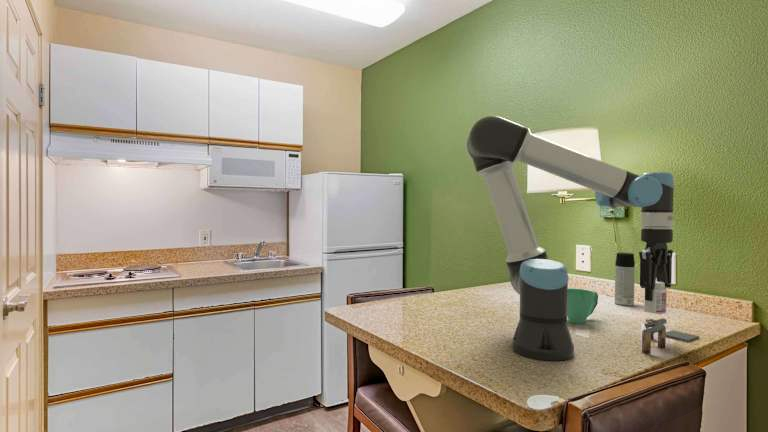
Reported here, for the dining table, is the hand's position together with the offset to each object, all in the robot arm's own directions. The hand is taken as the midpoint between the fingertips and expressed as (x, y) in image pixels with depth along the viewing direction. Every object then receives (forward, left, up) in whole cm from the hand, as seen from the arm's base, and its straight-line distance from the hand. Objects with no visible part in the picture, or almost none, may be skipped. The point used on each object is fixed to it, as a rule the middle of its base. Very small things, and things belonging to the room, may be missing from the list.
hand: (655, 310), depth 121 cm
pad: (+11, -1, -9) cm, 14 cm away
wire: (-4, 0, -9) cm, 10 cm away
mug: (+3, +25, -9) cm, 26 cm away
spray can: (+40, +31, -9) cm, 51 cm away
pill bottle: (0, 0, -1) cm, 1 cm away
